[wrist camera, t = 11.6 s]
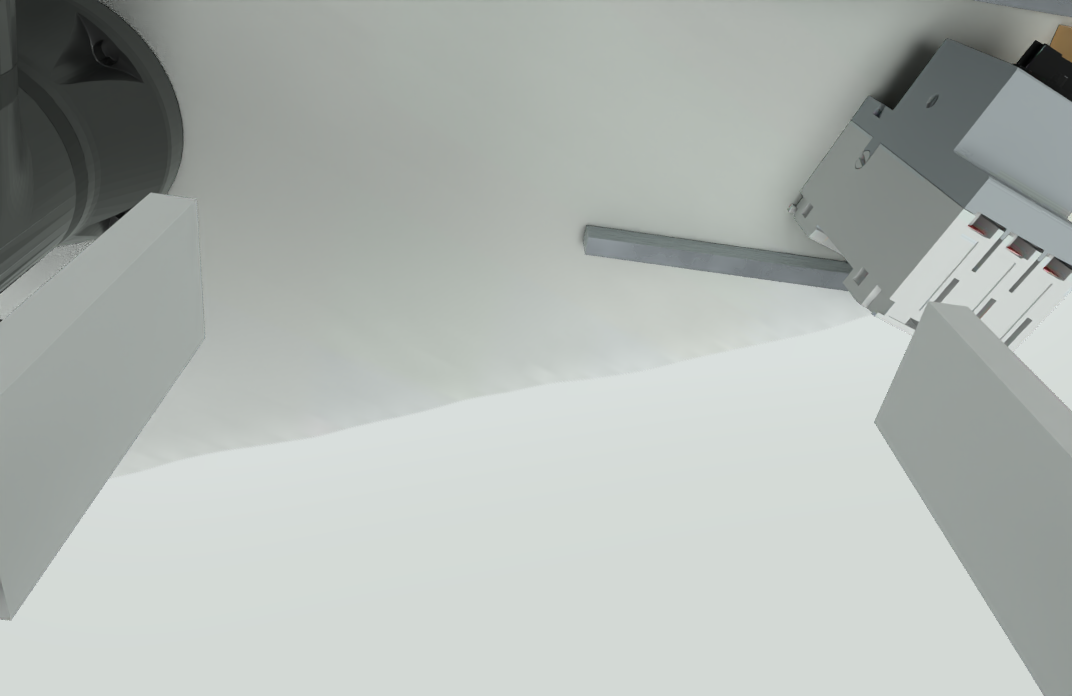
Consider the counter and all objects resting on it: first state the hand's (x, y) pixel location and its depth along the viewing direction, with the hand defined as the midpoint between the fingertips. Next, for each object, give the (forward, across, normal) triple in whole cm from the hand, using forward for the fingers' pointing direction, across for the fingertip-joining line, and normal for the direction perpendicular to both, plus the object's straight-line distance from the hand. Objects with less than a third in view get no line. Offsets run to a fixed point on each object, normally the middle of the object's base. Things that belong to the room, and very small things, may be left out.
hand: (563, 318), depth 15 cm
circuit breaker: (+37, +24, -4) cm, 44 cm away
